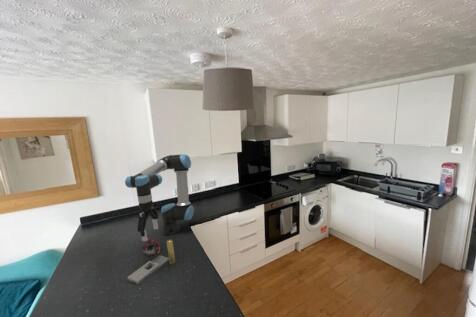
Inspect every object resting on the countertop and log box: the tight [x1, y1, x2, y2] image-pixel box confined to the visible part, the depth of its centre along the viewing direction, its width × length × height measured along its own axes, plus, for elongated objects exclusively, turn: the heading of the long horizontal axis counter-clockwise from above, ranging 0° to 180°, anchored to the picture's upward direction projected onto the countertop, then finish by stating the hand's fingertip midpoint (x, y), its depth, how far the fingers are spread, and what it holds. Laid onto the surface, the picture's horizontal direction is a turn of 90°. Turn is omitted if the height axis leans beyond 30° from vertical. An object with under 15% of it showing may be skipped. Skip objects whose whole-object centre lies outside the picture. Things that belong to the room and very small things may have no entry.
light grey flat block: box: [126, 260, 160, 285], centre depth 119 cm, size 16×9×2 cm, turn 153°
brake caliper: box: [141, 237, 161, 257], centre depth 141 cm, size 11×11×12 cm
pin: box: [166, 238, 176, 265], centre depth 126 cm, size 4×4×15 cm
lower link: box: [145, 254, 169, 276], centre depth 126 cm, size 16×9×1 cm, turn 153°
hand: (150, 234), depth 121 cm, fingers open, 13 cm apart
